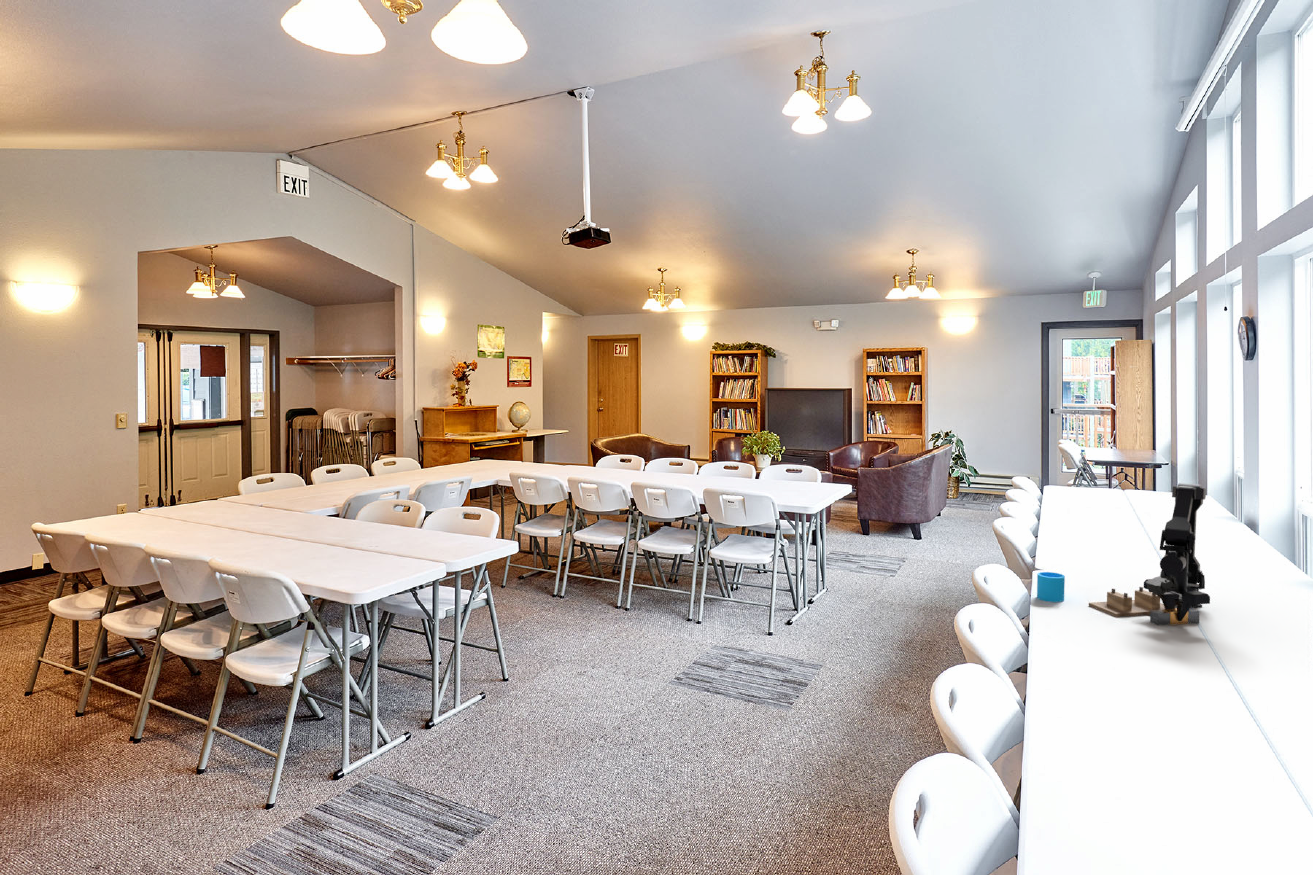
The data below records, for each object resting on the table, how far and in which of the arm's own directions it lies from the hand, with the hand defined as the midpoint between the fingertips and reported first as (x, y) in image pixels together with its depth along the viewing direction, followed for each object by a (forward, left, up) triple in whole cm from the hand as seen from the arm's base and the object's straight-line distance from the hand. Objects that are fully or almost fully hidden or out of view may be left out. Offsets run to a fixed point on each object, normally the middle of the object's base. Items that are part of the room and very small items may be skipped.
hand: (1174, 618), depth 227 cm
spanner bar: (0, 0, -1) cm, 1 cm away
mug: (+18, -31, -1) cm, 36 cm away
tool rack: (+2, -14, -1) cm, 14 cm away
